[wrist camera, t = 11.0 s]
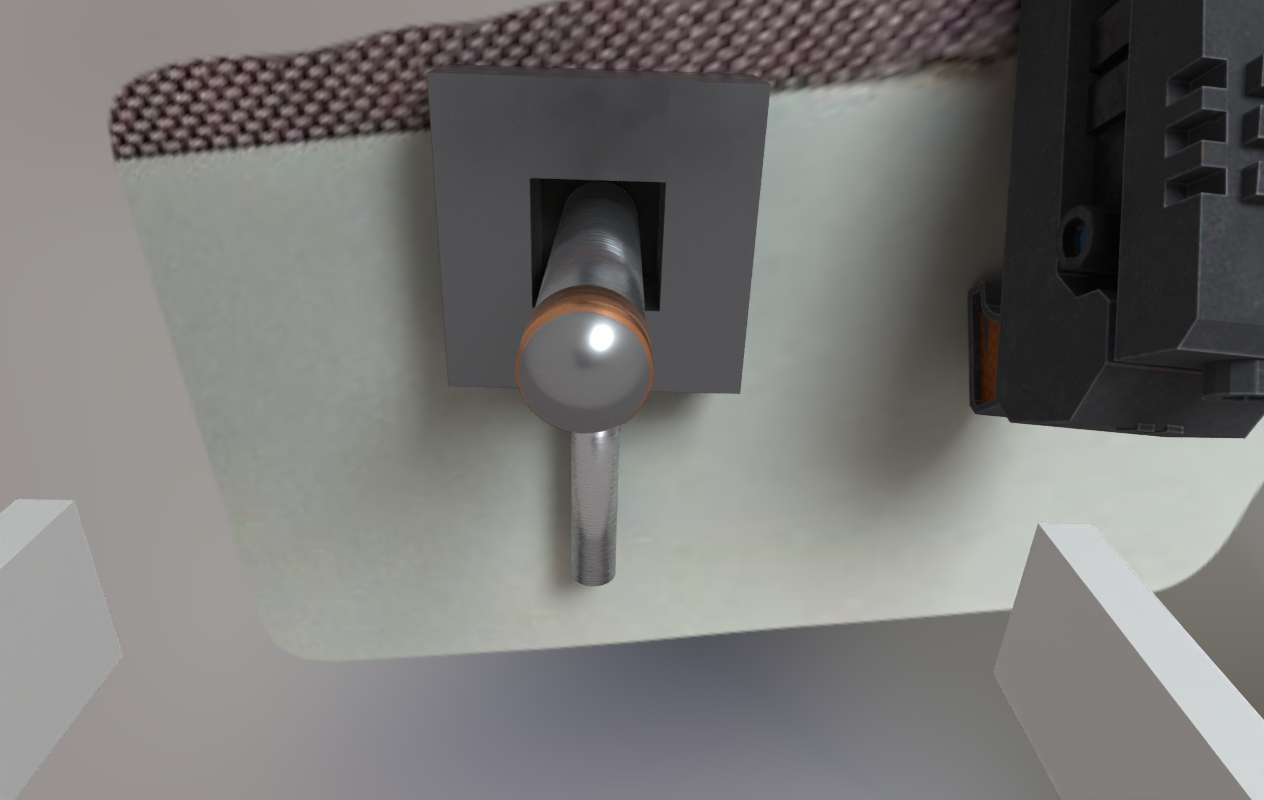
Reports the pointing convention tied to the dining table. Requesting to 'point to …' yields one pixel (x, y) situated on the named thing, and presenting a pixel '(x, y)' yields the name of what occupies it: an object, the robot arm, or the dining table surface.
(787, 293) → the dining table surface
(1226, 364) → the toy gun
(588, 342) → the grey metal rod
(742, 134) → the grey holed block
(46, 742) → the robot arm
